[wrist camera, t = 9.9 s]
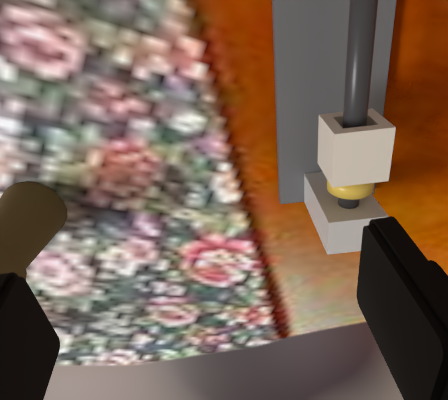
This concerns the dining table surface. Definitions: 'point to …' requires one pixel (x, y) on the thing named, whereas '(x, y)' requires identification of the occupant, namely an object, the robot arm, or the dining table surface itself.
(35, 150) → the dining table surface
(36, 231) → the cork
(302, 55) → the grey rod stand
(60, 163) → the dining table surface
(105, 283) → the dining table surface
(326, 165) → the sleeve
